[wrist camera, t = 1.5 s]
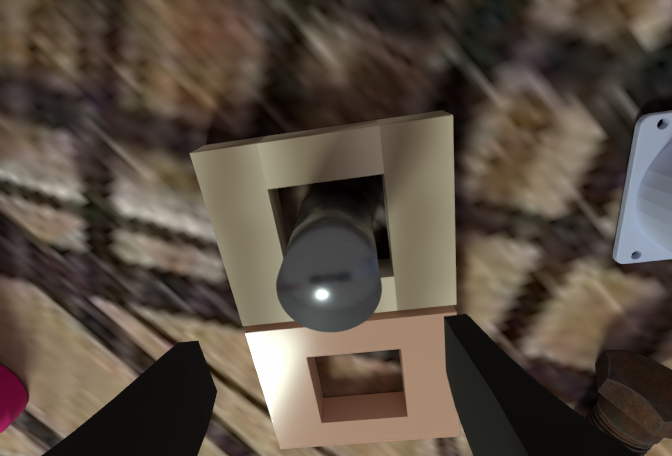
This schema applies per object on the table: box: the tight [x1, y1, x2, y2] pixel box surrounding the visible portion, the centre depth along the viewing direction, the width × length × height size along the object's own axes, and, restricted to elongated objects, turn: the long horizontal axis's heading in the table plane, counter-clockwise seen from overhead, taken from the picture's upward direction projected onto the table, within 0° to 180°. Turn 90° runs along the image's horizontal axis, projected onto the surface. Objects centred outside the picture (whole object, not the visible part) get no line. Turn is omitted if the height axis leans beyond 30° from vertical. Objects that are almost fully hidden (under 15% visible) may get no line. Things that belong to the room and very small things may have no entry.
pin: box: [276, 185, 382, 332], centre depth 17 cm, size 4×4×7 cm
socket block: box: [245, 305, 459, 449], centre depth 23 cm, size 12×10×2 cm
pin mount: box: [190, 110, 457, 326], centre depth 19 cm, size 12×10×2 cm
